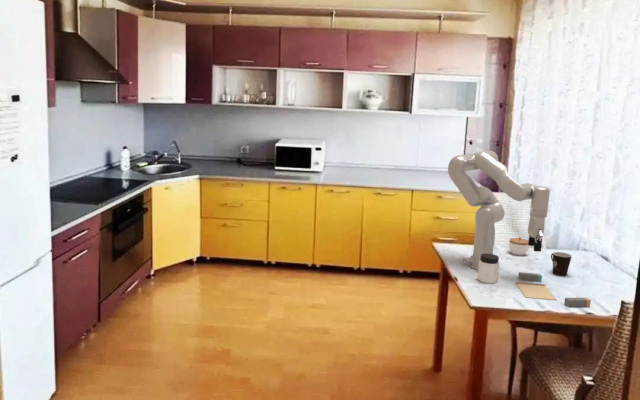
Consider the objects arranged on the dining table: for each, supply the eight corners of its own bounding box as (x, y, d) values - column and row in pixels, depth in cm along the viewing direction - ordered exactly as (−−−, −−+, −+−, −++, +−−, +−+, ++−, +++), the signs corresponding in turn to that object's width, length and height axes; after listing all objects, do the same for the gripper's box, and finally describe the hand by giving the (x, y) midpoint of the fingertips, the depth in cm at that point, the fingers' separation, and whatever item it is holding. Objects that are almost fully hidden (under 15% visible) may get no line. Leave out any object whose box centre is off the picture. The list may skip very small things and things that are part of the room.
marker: (519, 280, 271) (520, 274, 270) (518, 278, 274) (518, 272, 273) (541, 281, 270) (542, 275, 270) (539, 279, 273) (540, 273, 273)
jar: (476, 281, 266) (479, 257, 263) (477, 276, 273) (480, 252, 271) (496, 284, 263) (499, 259, 261) (497, 279, 271) (499, 254, 268)
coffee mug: (570, 277, 279) (573, 257, 277) (552, 275, 280) (554, 256, 278) (565, 270, 290) (568, 251, 288) (547, 268, 292) (550, 249, 290)
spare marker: (568, 307, 239) (569, 300, 239) (564, 304, 242) (565, 297, 242) (589, 306, 241) (590, 300, 241) (585, 304, 244) (586, 297, 243)
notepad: (525, 297, 248) (526, 296, 248) (515, 283, 266) (515, 282, 266) (556, 300, 247) (556, 299, 247) (544, 285, 265) (544, 284, 265)
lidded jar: (504, 250, 320) (506, 234, 318) (522, 251, 321) (524, 235, 320) (513, 256, 310) (515, 240, 308) (531, 257, 311) (533, 240, 309)
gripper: (525, 208, 274) (521, 243, 278) (535, 216, 257) (530, 252, 261) (541, 209, 274) (537, 244, 277) (552, 217, 257) (547, 254, 260)
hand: (534, 248), depth 269 cm, fingers open, 9 cm apart
